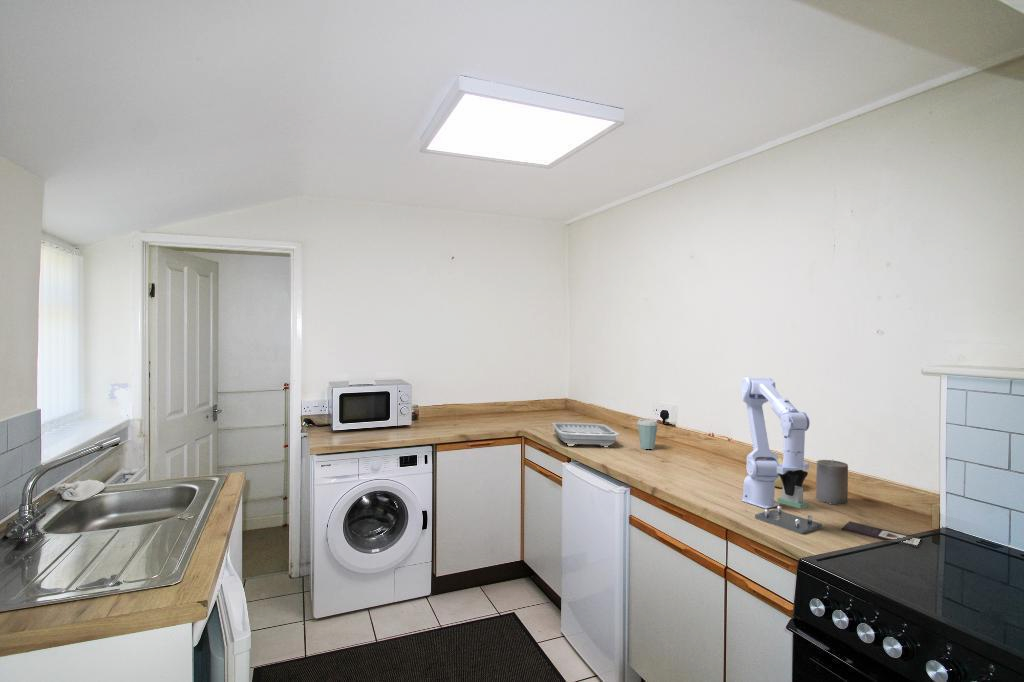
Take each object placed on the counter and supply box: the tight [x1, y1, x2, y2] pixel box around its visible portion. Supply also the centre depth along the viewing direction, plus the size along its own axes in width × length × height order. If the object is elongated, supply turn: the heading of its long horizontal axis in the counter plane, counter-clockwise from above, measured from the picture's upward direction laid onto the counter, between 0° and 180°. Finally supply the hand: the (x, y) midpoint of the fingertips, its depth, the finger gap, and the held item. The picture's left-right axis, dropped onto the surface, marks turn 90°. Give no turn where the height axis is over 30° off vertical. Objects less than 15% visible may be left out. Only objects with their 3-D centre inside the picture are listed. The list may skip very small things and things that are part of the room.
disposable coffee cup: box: [636, 418, 659, 450], centre depth 266 cm, size 11×11×15 cm
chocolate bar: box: [841, 521, 922, 549], centre depth 155 cm, size 9×1×18 cm
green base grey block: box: [776, 486, 809, 509], centre depth 163 cm, size 7×4×6 cm, turn 32°
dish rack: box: [551, 421, 620, 447], centre depth 280 cm, size 32×37×8 cm
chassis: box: [754, 505, 823, 535], centre depth 163 cm, size 15×11×3 cm
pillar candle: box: [815, 459, 849, 505], centre depth 187 cm, size 10×10×15 cm
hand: (792, 494), depth 163 cm, fingers closed on green base grey block, 3 cm apart
